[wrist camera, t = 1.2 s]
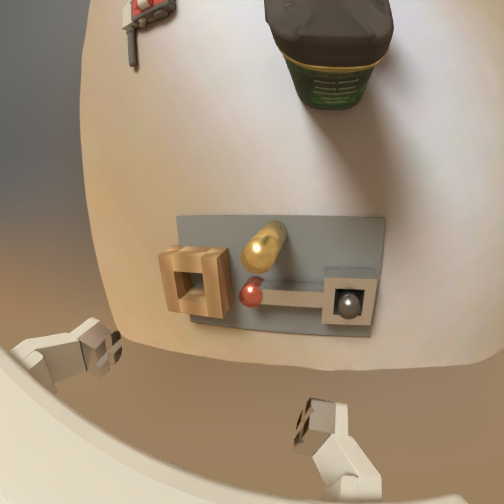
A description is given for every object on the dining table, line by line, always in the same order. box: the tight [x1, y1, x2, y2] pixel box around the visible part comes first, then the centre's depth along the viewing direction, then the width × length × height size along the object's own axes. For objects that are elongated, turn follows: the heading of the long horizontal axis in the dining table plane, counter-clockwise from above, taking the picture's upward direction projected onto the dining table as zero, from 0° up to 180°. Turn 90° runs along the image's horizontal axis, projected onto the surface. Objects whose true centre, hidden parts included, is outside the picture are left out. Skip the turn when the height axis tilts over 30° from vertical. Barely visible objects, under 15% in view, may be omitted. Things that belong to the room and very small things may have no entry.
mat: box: [176, 215, 385, 336], centre depth 35 cm, size 26×16×1 cm, turn 93°
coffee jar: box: [264, 0, 394, 110], centre depth 17 cm, size 10×8×19 cm
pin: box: [240, 220, 287, 274], centre depth 29 cm, size 3×3×9 cm
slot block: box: [158, 246, 233, 318], centre depth 35 cm, size 8×8×4 cm
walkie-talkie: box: [122, 0, 176, 67], centre depth 25 cm, size 9×4×20 cm
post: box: [338, 289, 360, 319], centre depth 30 cm, size 2×2×5 cm
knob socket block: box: [239, 267, 377, 325], centre depth 32 cm, size 16×6×3 cm, turn 93°
